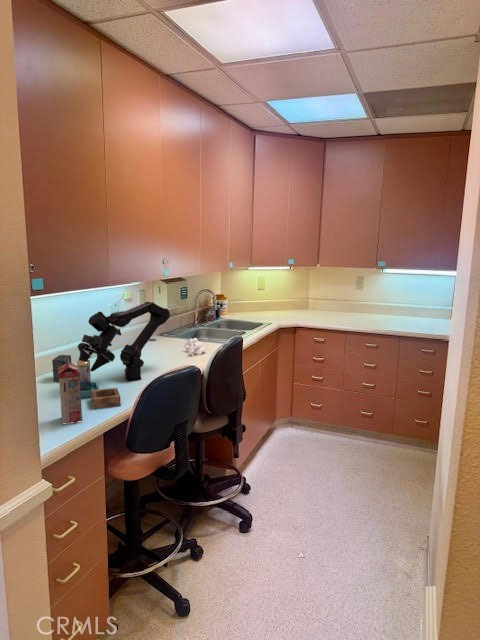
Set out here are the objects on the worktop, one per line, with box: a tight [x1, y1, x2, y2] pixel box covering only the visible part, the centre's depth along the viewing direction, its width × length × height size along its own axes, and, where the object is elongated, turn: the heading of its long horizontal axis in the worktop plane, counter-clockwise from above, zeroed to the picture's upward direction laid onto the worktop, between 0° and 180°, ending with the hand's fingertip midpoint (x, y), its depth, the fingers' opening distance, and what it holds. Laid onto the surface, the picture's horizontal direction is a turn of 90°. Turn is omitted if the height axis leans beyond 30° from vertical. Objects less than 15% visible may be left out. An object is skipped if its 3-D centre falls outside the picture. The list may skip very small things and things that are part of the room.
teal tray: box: [81, 381, 101, 400], centre depth 179 cm, size 11×11×3 cm
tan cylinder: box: [76, 359, 92, 391], centre depth 178 cm, size 5×5×13 cm
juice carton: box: [58, 358, 83, 425], centre depth 152 cm, size 7×7×22 cm
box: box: [51, 354, 72, 383], centre depth 195 cm, size 8×6×11 cm
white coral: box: [182, 337, 207, 357], centre depth 243 cm, size 12×9×10 cm
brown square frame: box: [90, 387, 122, 410], centre depth 170 cm, size 10×10×4 cm
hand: (84, 368), depth 178 cm, fingers open, 9 cm apart
